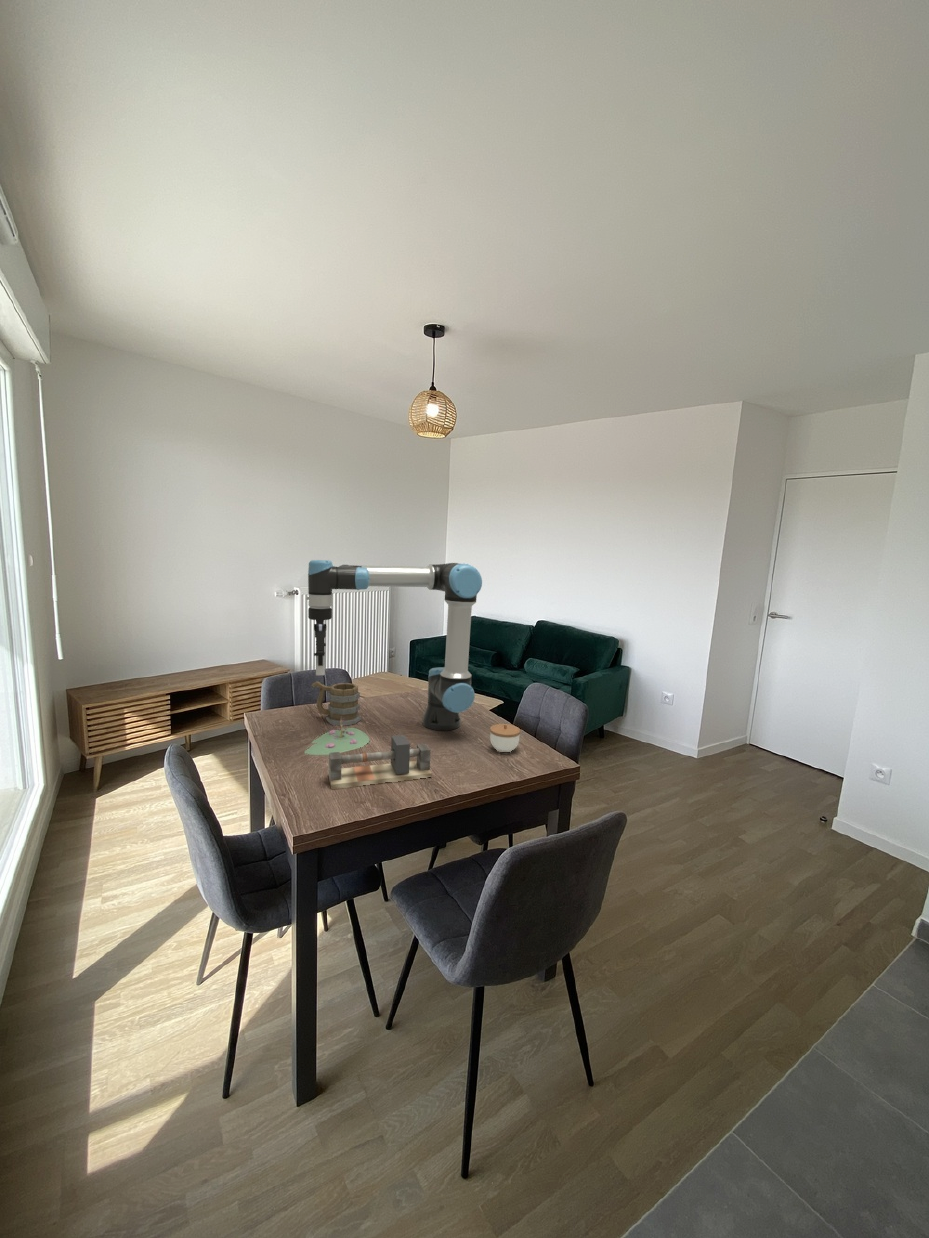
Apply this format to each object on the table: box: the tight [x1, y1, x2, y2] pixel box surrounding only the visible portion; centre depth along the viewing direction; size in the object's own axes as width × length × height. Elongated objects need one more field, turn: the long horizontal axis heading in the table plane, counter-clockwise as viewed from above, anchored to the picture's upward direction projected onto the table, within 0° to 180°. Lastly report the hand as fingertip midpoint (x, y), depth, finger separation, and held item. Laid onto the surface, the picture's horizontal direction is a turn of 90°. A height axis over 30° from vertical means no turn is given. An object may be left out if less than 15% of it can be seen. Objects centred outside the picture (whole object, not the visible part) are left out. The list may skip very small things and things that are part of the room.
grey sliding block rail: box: [328, 743, 433, 790], centre depth 155 cm, size 30×10×8 cm, turn 110°
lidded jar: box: [489, 723, 521, 753], centre depth 179 cm, size 11×11×9 cm
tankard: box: [311, 681, 362, 727], centre depth 203 cm, size 20×13×15 cm, turn 77°
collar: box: [390, 734, 411, 774], centre depth 156 cm, size 4×8×9 cm, turn 20°
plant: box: [304, 716, 371, 756], centre depth 179 cm, size 25×21×9 cm
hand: (320, 670), depth 170 cm, fingers open, 13 cm apart
